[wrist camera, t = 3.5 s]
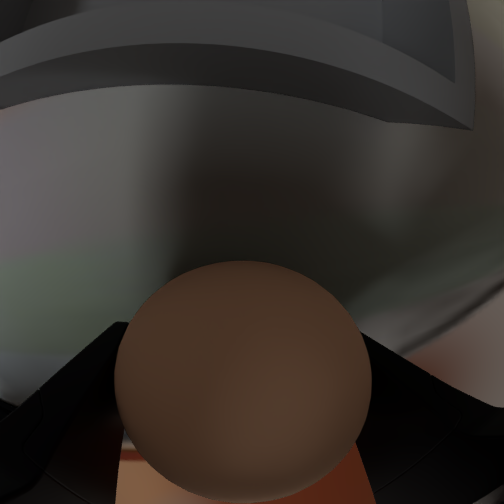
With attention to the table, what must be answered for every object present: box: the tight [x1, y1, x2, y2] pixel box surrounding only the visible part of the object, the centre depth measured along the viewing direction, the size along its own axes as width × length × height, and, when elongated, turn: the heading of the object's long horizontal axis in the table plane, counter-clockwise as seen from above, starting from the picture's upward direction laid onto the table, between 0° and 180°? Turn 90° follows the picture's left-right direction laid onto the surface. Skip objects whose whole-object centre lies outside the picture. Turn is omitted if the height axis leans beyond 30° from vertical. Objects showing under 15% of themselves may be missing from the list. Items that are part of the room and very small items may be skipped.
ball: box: [114, 261, 372, 503], centre depth 6 cm, size 6×6×6 cm
